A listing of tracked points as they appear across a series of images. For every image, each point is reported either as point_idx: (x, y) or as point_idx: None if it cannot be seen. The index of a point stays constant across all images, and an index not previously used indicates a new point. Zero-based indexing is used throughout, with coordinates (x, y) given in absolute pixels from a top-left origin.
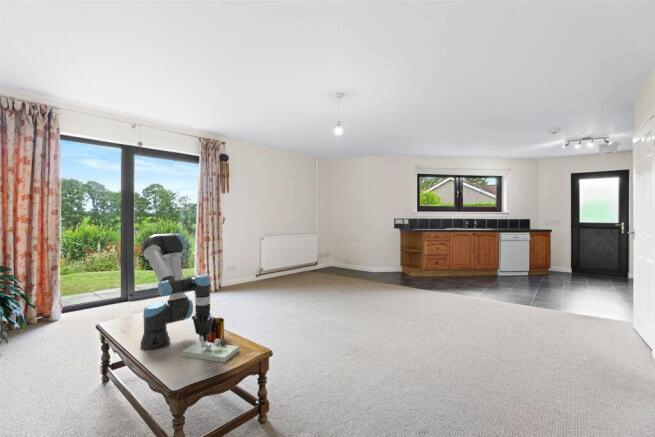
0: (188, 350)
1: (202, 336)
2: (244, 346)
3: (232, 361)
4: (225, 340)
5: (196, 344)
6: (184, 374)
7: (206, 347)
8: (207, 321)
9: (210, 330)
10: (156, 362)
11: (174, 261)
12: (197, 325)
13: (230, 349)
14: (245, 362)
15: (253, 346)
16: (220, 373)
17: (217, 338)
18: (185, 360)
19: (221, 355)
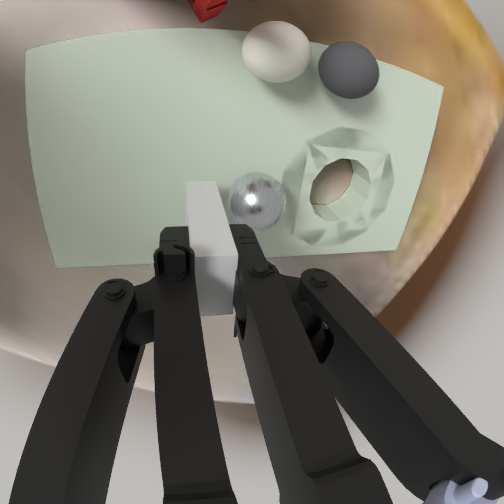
0: (86, 243)
1: (226, 310)
2: (429, 16)
3: (414, 215)
4: (376, 62)
5: (54, 122)
6: (242, 362)
7: (254, 231)
8: (367, 472)
9: (359, 316)
10: (31, 333)
11: None
12: (106, 435)
13: (410, 140)
14: (458, 209)
15: (467, 26)
16: (381, 309)
17: None
18: (139, 284)
19: (377, 235)
